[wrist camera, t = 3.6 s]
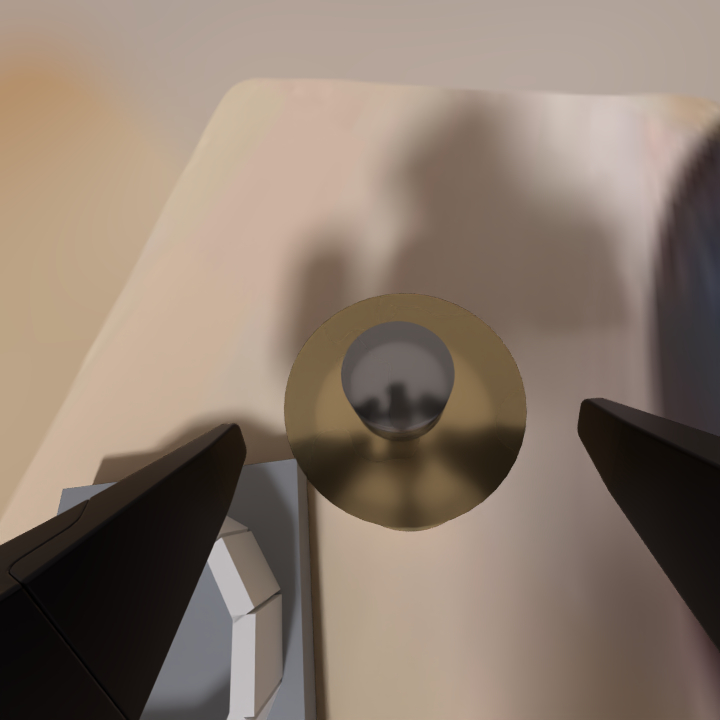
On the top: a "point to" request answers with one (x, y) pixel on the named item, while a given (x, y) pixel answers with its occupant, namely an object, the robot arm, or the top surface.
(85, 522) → the robot arm
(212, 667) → the board
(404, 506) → the gold pepper grinder
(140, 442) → the top surface
